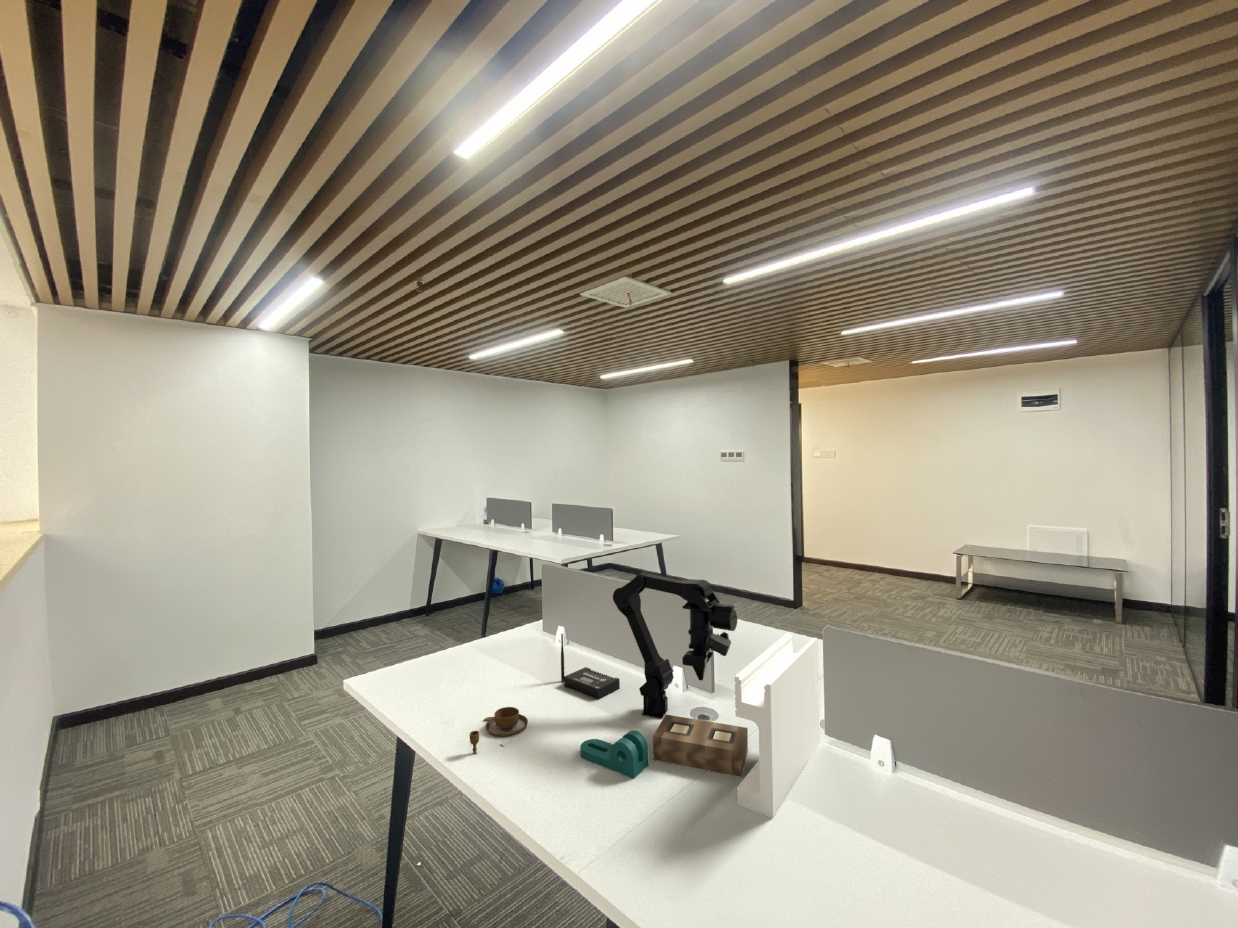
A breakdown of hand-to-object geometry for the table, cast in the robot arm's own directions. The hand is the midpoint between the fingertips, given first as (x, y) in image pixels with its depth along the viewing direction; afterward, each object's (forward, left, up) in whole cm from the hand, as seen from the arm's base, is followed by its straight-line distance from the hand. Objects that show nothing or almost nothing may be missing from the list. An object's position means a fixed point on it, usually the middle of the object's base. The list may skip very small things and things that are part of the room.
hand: (701, 679), depth 147 cm
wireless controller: (-42, +13, -14) cm, 46 cm away
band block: (+3, -15, -13) cm, 20 cm away
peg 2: (+8, -15, -13) cm, 22 cm away
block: (+23, -15, -13) cm, 30 cm away
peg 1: (-3, -15, -13) cm, 20 cm away
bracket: (-18, -25, -13) cm, 33 cm away
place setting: (-55, -23, -14) cm, 61 cm away
